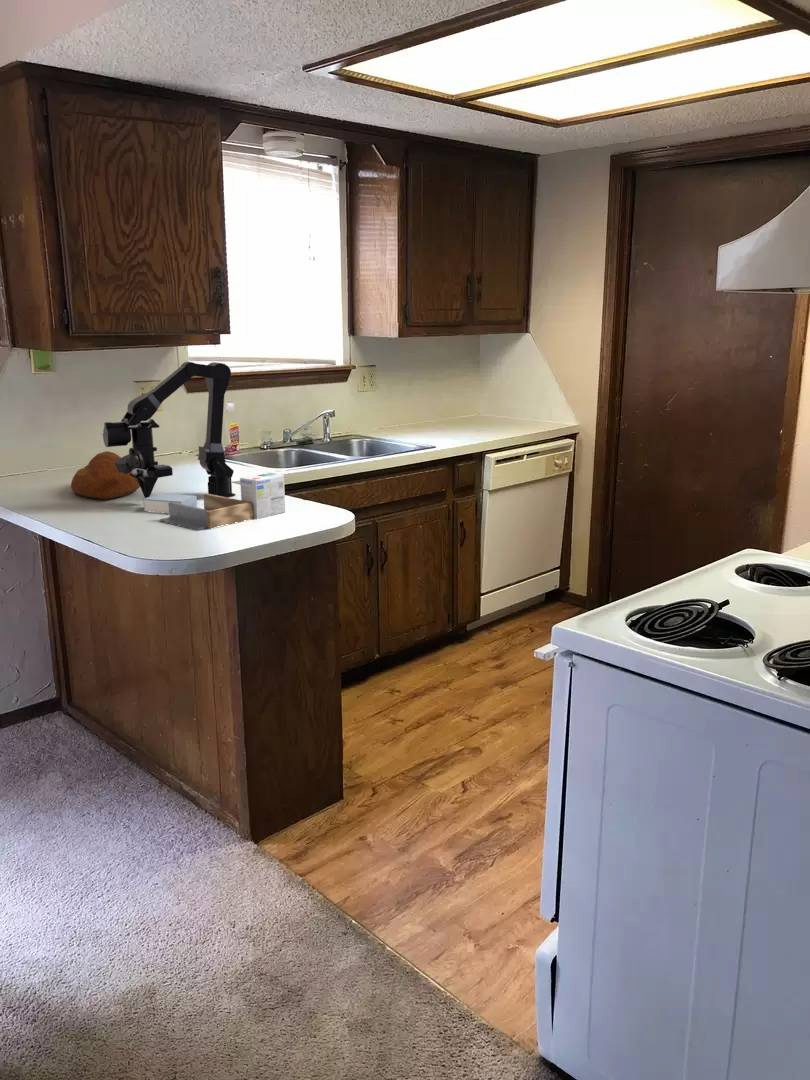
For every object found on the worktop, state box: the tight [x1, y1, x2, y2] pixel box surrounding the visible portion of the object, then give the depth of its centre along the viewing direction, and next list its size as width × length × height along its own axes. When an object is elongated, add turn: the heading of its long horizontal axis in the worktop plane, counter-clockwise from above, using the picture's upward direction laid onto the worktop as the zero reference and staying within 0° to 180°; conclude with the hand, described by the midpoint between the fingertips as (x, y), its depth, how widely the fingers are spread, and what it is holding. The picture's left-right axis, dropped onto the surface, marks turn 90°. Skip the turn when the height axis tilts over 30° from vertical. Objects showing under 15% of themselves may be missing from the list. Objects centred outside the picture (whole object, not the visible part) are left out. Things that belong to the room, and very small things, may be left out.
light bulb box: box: [239, 472, 286, 520], centre depth 235 cm, size 11×7×11 cm, turn 141°
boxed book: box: [143, 492, 198, 514], centre depth 241 cm, size 8×12×4 cm
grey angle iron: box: [159, 502, 210, 531], centre depth 224 cm, size 4×16×4 cm, turn 51°
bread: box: [70, 451, 140, 500], centre depth 265 cm, size 21×33×12 cm, turn 12°
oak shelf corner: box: [202, 492, 254, 529], centre depth 231 cm, size 14×19×4 cm
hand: (147, 497), depth 248 cm, fingers closed
